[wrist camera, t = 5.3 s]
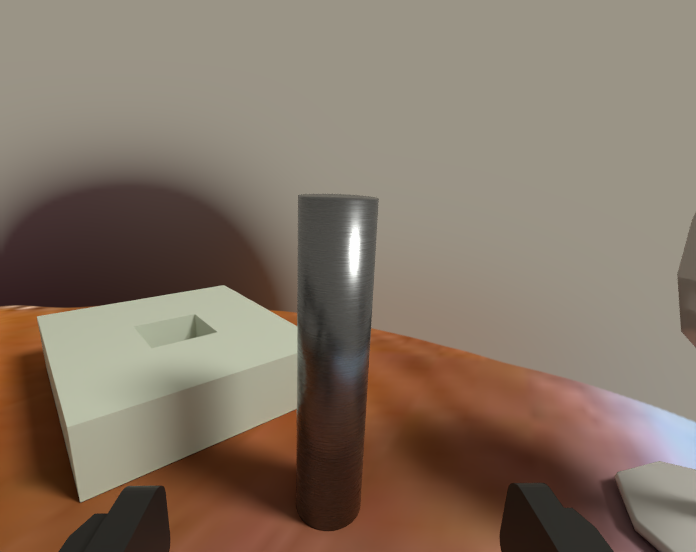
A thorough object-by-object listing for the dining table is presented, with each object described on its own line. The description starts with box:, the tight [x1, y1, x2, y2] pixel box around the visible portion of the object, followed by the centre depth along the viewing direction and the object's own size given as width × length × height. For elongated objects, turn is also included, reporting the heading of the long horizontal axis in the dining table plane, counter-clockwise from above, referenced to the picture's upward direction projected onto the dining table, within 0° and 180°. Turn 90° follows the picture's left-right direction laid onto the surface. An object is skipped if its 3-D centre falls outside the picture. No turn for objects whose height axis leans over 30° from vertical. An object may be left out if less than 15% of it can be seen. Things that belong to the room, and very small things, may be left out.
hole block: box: [37, 285, 297, 502], centre depth 31 cm, size 16×18×4 cm
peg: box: [296, 194, 379, 531], centre depth 19 cm, size 3×3×16 cm
